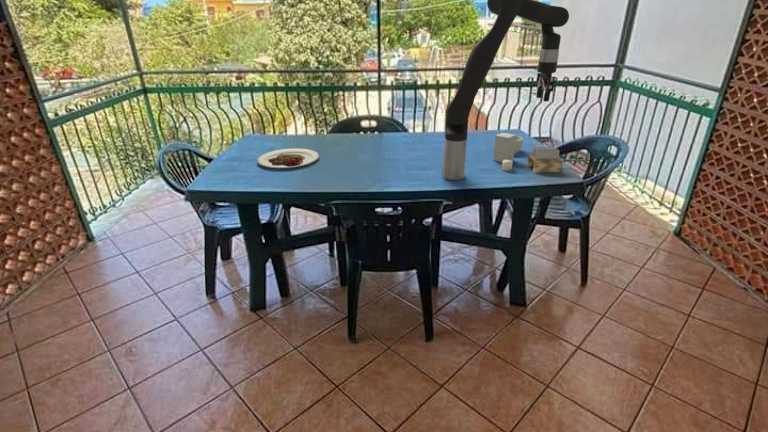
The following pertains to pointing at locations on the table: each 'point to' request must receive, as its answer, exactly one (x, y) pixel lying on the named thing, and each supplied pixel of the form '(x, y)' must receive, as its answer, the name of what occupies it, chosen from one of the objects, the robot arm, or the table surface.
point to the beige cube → (507, 165)
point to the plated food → (288, 158)
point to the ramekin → (518, 144)
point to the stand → (544, 165)
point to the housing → (545, 153)
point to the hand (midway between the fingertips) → (542, 99)
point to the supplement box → (504, 147)
